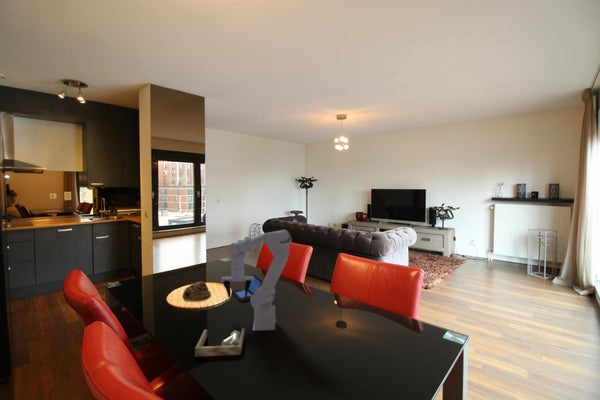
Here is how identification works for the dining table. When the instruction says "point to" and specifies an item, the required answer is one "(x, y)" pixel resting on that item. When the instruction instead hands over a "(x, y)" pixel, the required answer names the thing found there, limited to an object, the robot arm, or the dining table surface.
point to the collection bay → (218, 347)
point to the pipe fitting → (232, 339)
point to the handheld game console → (252, 288)
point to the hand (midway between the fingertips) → (237, 296)
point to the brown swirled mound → (196, 291)
